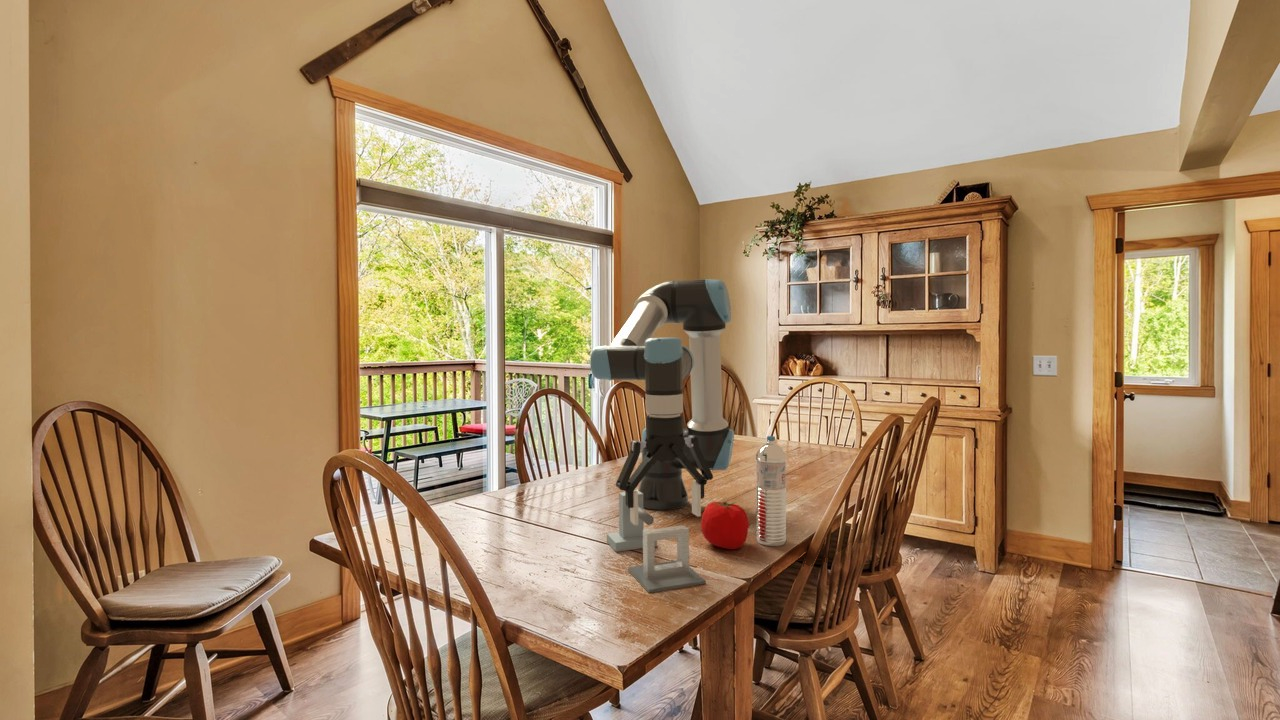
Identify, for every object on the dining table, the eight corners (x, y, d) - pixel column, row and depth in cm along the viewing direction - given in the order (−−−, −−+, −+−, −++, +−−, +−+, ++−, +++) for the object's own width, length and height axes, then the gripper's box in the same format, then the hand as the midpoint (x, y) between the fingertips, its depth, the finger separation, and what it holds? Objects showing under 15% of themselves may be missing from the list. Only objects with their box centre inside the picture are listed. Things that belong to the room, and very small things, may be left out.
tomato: (724, 558, 131) (724, 512, 131) (689, 542, 142) (689, 499, 141) (762, 548, 137) (762, 504, 137) (726, 533, 148) (726, 492, 147)
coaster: (680, 562, 129) (680, 559, 129) (705, 583, 118) (705, 580, 118) (628, 570, 125) (628, 567, 125) (648, 592, 114) (648, 589, 114)
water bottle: (767, 535, 146) (766, 433, 145) (791, 542, 141) (791, 436, 140) (750, 542, 141) (750, 436, 141) (775, 549, 136) (775, 440, 136)
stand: (606, 541, 143) (606, 491, 142) (646, 536, 146) (645, 487, 146) (627, 564, 128) (627, 508, 128) (671, 558, 131) (670, 504, 131)
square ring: (684, 568, 124) (683, 525, 124) (689, 572, 122) (688, 528, 121) (643, 574, 121) (642, 530, 121) (647, 579, 119) (647, 534, 118)
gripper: (711, 408, 128) (712, 506, 129) (599, 416, 119) (601, 521, 121) (728, 412, 121) (729, 516, 122) (610, 421, 112) (612, 533, 114)
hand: (665, 518), depth 121 cm, fingers open, 13 cm apart
